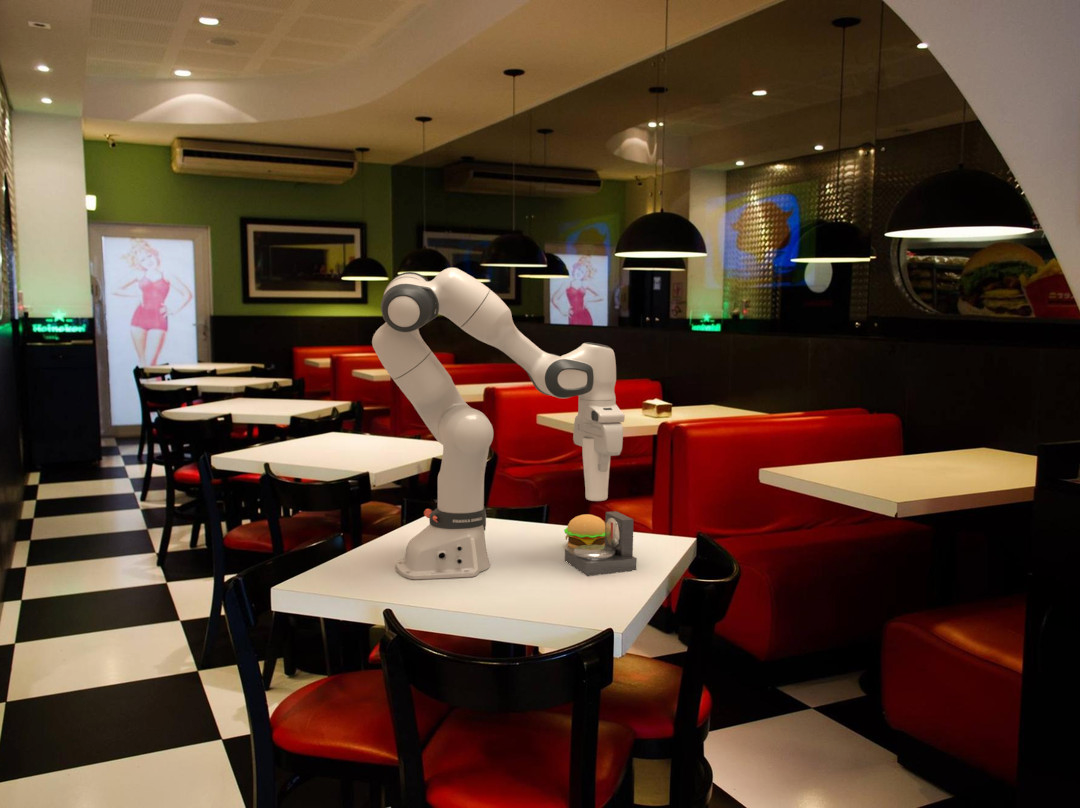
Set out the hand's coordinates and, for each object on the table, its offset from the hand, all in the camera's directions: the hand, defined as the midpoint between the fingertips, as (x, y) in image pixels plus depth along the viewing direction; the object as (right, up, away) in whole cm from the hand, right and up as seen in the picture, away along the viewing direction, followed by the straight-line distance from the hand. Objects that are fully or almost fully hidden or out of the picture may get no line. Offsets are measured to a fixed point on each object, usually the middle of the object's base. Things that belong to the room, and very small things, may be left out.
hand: (595, 468), depth 202 cm
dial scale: (+1, -24, +4) cm, 24 cm away
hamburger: (-1, -23, +20) cm, 30 cm away
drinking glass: (0, -8, +1) cm, 8 cm away
